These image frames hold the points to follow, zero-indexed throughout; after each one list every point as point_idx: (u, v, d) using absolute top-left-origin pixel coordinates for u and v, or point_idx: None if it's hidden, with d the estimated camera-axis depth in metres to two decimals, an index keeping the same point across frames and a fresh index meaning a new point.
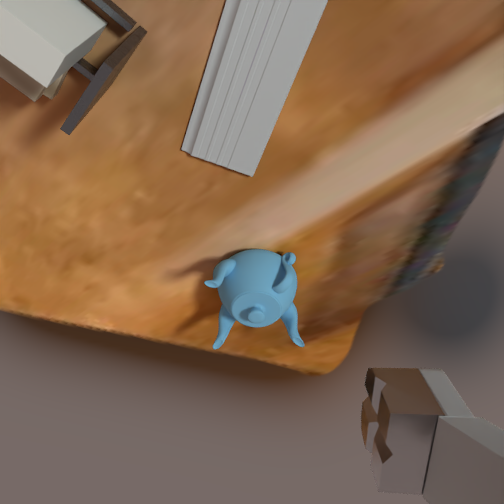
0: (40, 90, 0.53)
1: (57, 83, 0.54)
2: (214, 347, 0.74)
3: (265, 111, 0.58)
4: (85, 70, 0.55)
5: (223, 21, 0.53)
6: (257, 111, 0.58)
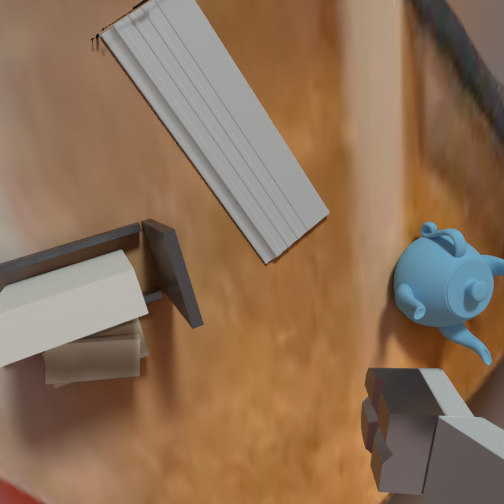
0: (138, 360, 0.47)
1: (142, 336, 0.49)
2: (488, 363, 0.59)
3: (279, 159, 0.55)
4: (146, 297, 0.50)
5: (184, 144, 0.51)
6: (275, 166, 0.55)
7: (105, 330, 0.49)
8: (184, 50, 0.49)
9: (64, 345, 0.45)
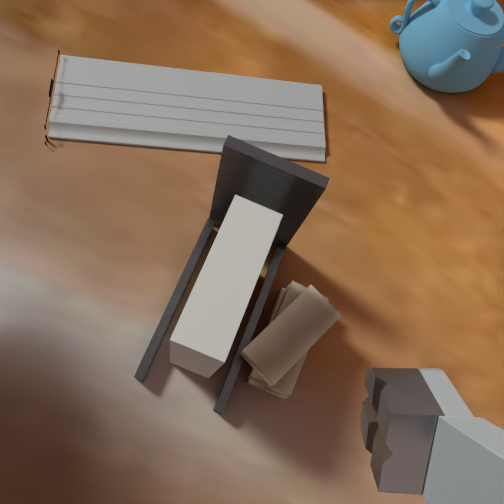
0: (327, 302, 0.42)
1: None
2: None
3: (247, 88, 0.55)
4: (273, 261, 0.47)
5: (177, 144, 0.51)
6: (250, 95, 0.55)
7: (276, 314, 0.44)
8: (109, 90, 0.52)
9: (258, 338, 0.40)
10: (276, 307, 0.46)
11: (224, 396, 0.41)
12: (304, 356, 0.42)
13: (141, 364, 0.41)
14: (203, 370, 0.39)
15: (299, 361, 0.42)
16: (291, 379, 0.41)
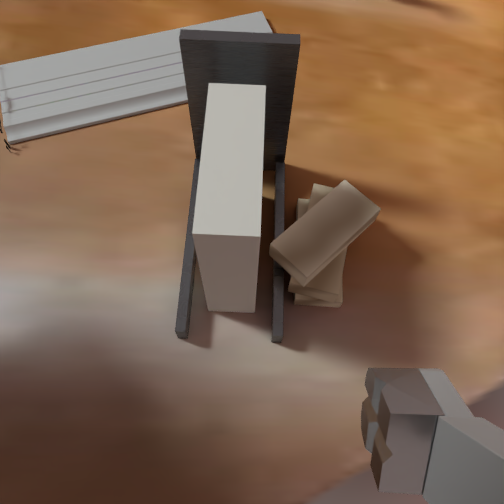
0: (363, 196, 0.38)
1: (332, 188, 0.41)
2: None
3: None
4: (277, 176, 0.43)
5: (139, 108, 0.49)
6: None
7: None
8: (54, 81, 0.49)
9: (287, 231, 0.37)
10: None
11: (278, 318, 0.37)
12: (344, 253, 0.38)
13: (178, 316, 0.37)
14: (244, 293, 0.35)
15: (340, 259, 0.38)
16: (335, 278, 0.37)
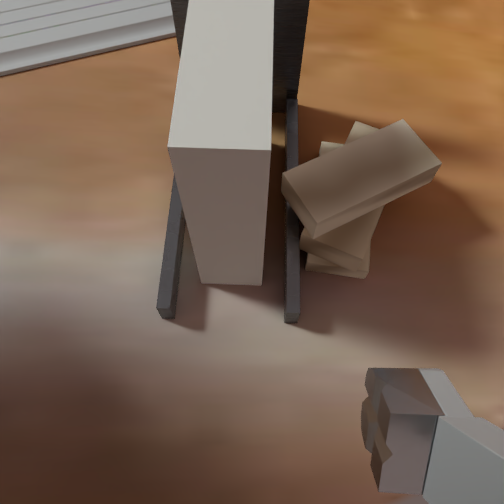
0: (422, 144, 0.29)
1: None
2: None
3: None
4: (289, 115, 0.34)
5: (118, 41, 0.40)
6: None
7: None
8: (15, 12, 0.40)
9: (308, 163, 0.28)
10: None
11: (293, 290, 0.28)
12: (379, 210, 0.29)
13: (161, 289, 0.28)
14: (248, 254, 0.26)
15: (372, 216, 0.29)
16: (362, 239, 0.28)
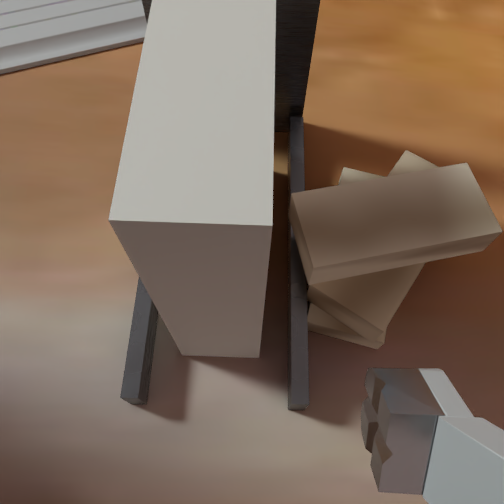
0: (483, 200, 0.22)
1: (432, 165, 0.25)
2: None
3: None
4: (292, 137, 0.27)
5: (88, 45, 0.33)
6: None
7: None
8: None
9: (327, 190, 0.22)
10: None
11: (299, 373, 0.21)
12: (417, 269, 0.22)
13: (127, 371, 0.21)
14: (241, 332, 0.19)
15: (406, 276, 0.22)
16: (387, 304, 0.21)
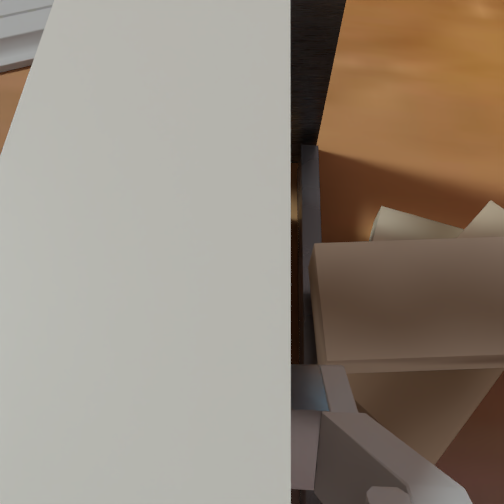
0: None
1: None
2: None
3: None
4: (304, 173, 0.21)
5: None
6: None
7: None
8: None
9: (366, 245, 0.15)
10: None
11: None
12: (490, 380, 0.15)
13: None
14: None
15: (473, 388, 0.15)
16: (441, 427, 0.15)
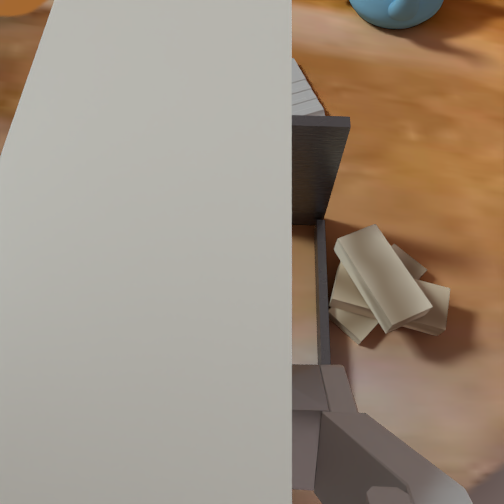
0: (409, 315, 0.37)
1: (446, 305, 0.40)
2: None
3: None
4: (318, 234, 0.45)
5: None
6: None
7: None
8: None
9: (384, 239, 0.41)
10: None
11: None
12: None
13: None
14: None
15: None
16: (347, 297, 0.41)
